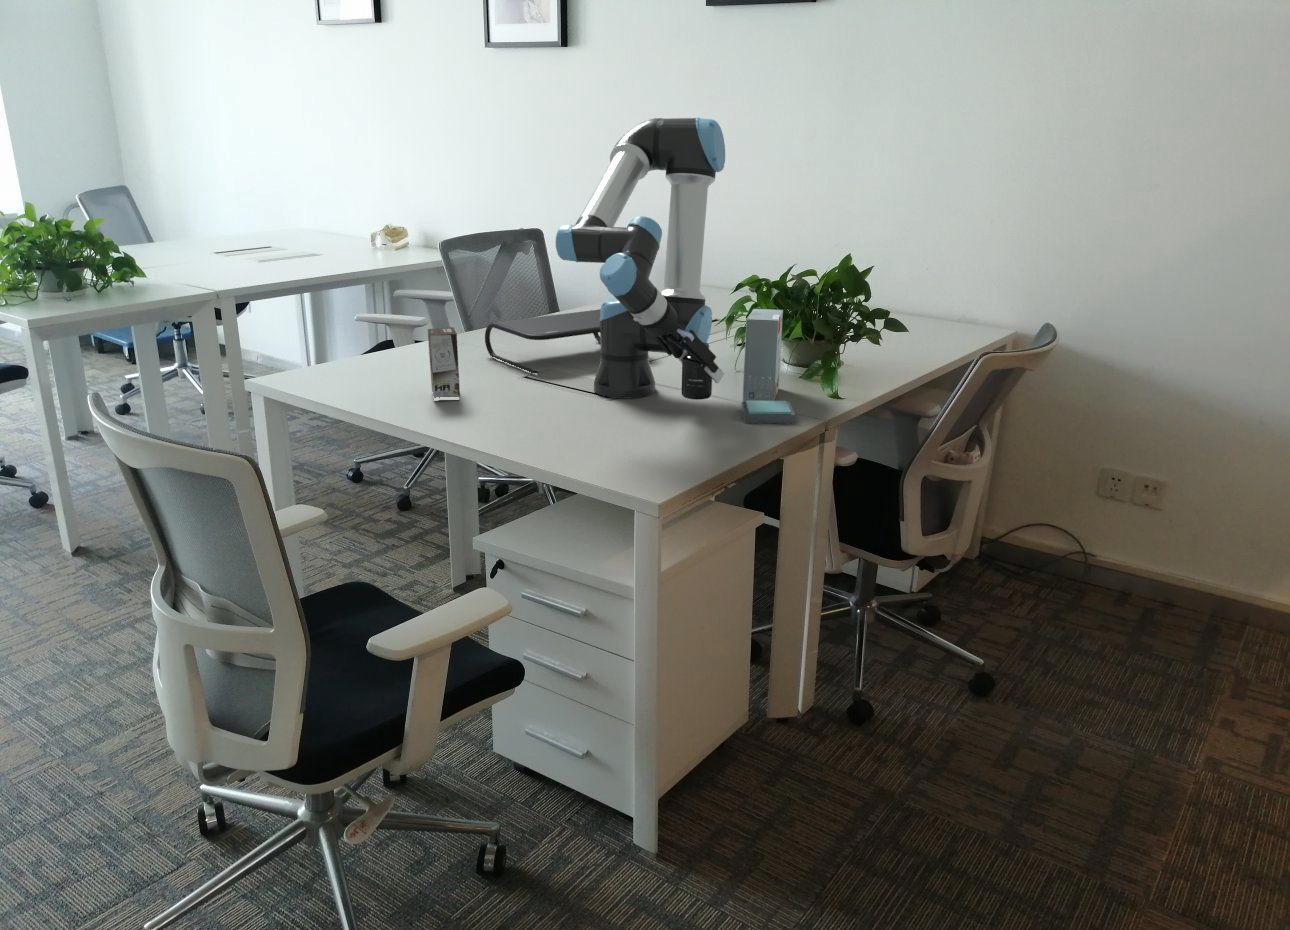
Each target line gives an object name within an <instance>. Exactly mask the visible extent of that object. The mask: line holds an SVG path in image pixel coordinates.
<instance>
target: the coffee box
mask: <svg viewBox="0 0 1290 930" xmlns="http://www.w3.org/2000/svg"><path fill="white" fill-rule="evenodd" d="M427 338H428V339H427V341H428V354H429V355H428V356H429V365H430V367H429V368H430V381H431V393H432V392H433V394H432V397H433V396H434V398H436V397H439V398H440V397H459V396H460V397H461V391H460V389H461V388H460V372H459V371H460V370H459V369H460V368H459V354H458V353H459V352H458V333H457V332H456V330H455V328H454V327H453V326H452V327H451V326H449V327H447V326H446V327H437V328H427ZM434 398H433V399H434Z"/></svg>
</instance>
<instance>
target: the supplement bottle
mask: <svg viewBox="0 0 1290 930" xmlns="http://www.w3.org/2000/svg"><path fill="white" fill-rule="evenodd" d="M703 343H704V344H705V345H706V346H707V347H708V348H709V349H710V344H709V343H708V342H707V343H705V342H703ZM701 365H702V364H701V363H700V362H699V361H698V360H696V359H695V358H694V357H693V356H692V355H691V354H689V353H688V354H687V355H685V356H684V357H683V360H682V363H681V366H682V367H681V395H682V397H684V398H685V399H688V400H696V401H699V400H707V399H709V398H710V397H711V396H712V392H713V379H712V378H711V377H710V376H709V374H708V373H707V372H706V371H705V370H704V369H702V368H701Z"/></svg>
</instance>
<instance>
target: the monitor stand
mask: <svg viewBox="0 0 1290 930" xmlns="http://www.w3.org/2000/svg"><path fill="white" fill-rule="evenodd" d="M600 313H601V308H600V309H594V310H593V309H592V310H591V309H590V310H585V311H583V310H582V311H578V312H568V313H559V314H551V315H543V316H537V317H528V318H521V319H519V318H518V319H511V320H504V321H497V322H496V321H495V322H491V323H489V324H488V325H487V326H486V329H485V332H484V344H485V347H486V350H487V352H488V354H489V356H490V357H491V356H492V357H495V358H497V359H500V360H502V361H504V362H507V363H509V364H511V365H514V366H516V367H519V368H521V369H524V370H527V371H529V372H531V373H539V371H538V370H536V369H533V368H531V367H528V366H525V365H522V364H520V363H517V362H514V361H512V360H510V359H508V358H505V357H502V356H500V355H497V354H496V353H495V352H494V349H493V347H492V344H491V332H492V329H493V328H494V329H497V330H499V331H503V332H505V333H509V334H511V335H514V336H517V337H519V338H523V339H526V340H530V341H531V340H532V341H534V340H535V341H547V340H555V339H561V338H562V339H563V338H569V337H577V336H584V335H585V336H586V335H591V334H593V336H594V338H595V340H596V341H597V342H598V343H599V344H600V343H601V341H600ZM492 357H491V358H492Z"/></svg>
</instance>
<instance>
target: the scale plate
mask: <svg viewBox="0 0 1290 930" xmlns="http://www.w3.org/2000/svg"><path fill="white" fill-rule="evenodd" d="M745 402H746V405H747V408H748V411H749V414H791V411H790V408H789V406H788V404H787V402H788V401H787V400H774V401H745Z"/></svg>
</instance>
